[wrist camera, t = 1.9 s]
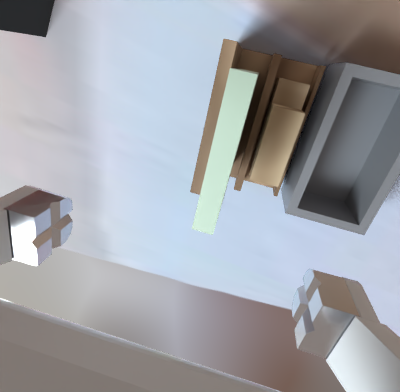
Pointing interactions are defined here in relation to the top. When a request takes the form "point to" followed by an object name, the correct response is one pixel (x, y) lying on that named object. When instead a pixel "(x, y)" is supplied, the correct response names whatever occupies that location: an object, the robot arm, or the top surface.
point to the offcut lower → (286, 98)
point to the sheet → (224, 147)
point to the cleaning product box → (26, 16)
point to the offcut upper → (276, 144)
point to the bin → (347, 149)
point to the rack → (252, 105)
